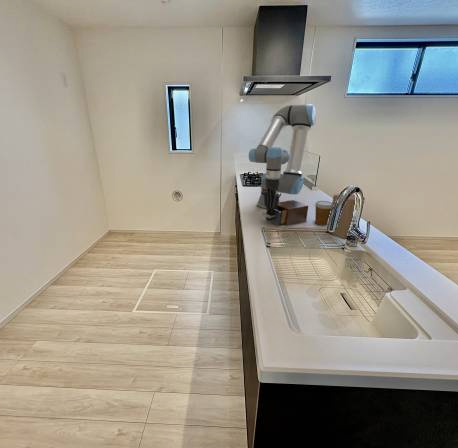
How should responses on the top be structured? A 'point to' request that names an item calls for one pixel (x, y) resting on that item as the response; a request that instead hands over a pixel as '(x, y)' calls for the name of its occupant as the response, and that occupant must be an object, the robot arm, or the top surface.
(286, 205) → the cabinet
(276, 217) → the drawer
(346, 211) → the wooden block
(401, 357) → the top surface
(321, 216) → the amber jar
